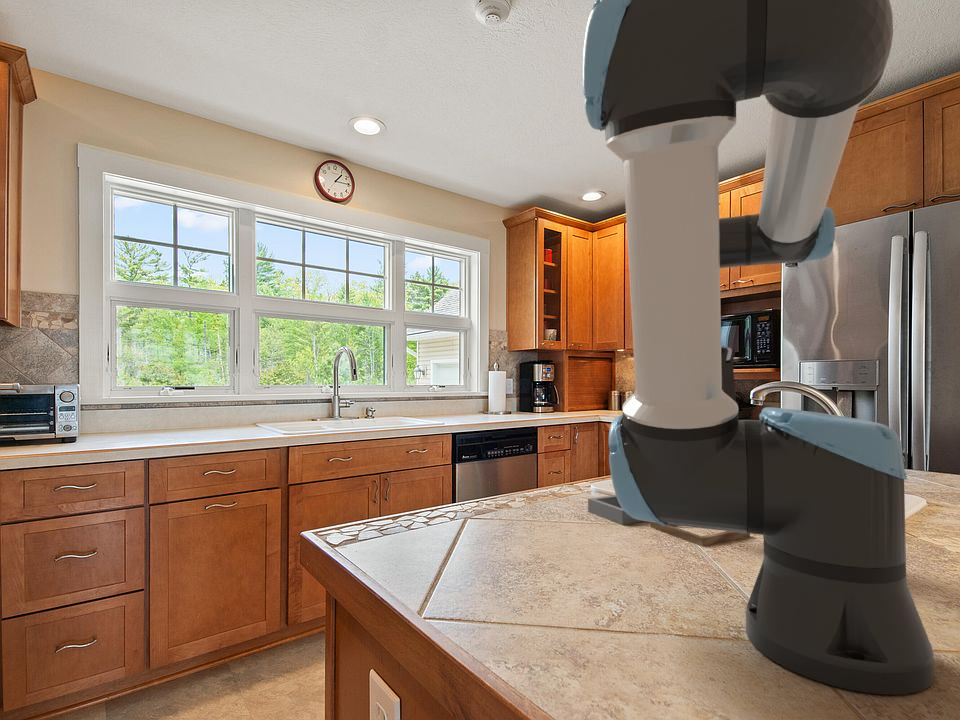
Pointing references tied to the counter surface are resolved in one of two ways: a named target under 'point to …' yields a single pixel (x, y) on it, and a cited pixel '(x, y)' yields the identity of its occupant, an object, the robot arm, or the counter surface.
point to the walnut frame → (697, 538)
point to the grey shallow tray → (610, 509)
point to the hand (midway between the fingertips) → (697, 448)
